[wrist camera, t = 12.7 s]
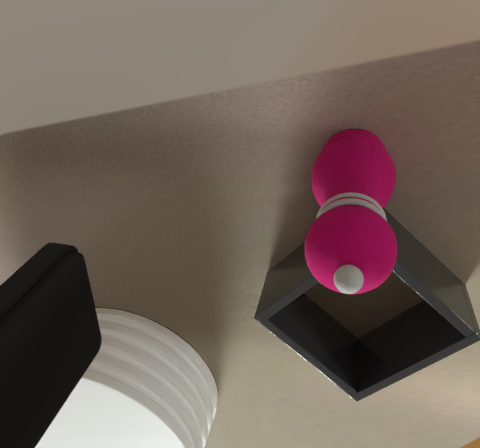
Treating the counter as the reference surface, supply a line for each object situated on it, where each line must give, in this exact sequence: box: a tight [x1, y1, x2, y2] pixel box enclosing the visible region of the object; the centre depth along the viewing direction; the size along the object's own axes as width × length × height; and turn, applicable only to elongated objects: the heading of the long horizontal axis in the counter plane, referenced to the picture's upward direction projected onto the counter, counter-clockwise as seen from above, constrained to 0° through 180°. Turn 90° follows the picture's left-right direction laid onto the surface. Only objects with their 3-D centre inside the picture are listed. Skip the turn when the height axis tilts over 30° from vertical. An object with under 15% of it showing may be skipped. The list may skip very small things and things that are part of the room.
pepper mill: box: [305, 129, 397, 294], centre depth 35 cm, size 7×7×20 cm
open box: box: [254, 208, 480, 401], centre depth 46 cm, size 15×15×8 cm
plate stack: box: [35, 308, 218, 448], centre depth 64 cm, size 28×28×12 cm
